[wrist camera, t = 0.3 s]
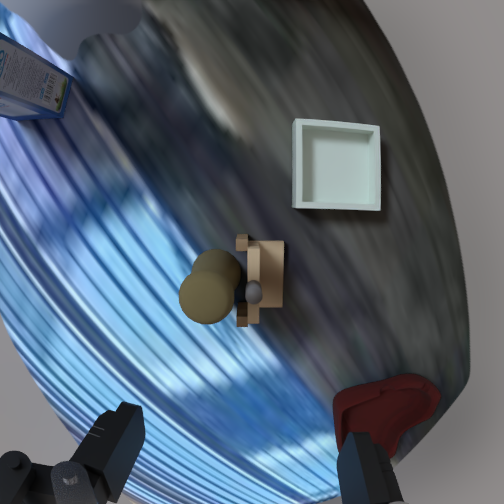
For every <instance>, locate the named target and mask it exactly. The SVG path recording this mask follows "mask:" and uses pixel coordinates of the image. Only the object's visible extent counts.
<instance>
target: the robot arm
mask: <svg viewBox="0 0 504 504" xmlns="http://www.w3.org/2000/svg"><path fill="white" fill-rule="evenodd" d="M144 440H145V425H144V418H143V411H142V407H141V406H139V405H135V404H131V403H128V402H124V401H123V402H121V404H120V405H119V407H118V408H117V410H116V412H114V411H111V410H108V411H106V412H105V413H103V414H102V415H100V416H99V417H98V418H97V420H96V421H95V423H94V424H93V427H91V429H90V430H89V432H88V434H87V435H86V436H85V438H84V439H83V441H82V442H81V444H80V445H79V447H78V449H77V450H76V452H75V453H74V455H73V456H72V458H71V459H70V460H69V461H63V462H60V463H58V464H56V465H55V466H47V465H42V464H36V463H32V462H31V461H30V459H29V458H28V456H27V455H26V454H24V453H22V452H20V451H9V452H7V453H5V454H4V455H2V456H1V458H0V504H106V503H107V501H111V502H114V503H117V501H118V499H119V497H120V494H121V492H122V490H123V488H124V486H125V483H126V481H127V479H128V477H129V475H130V472H131V470H132V468H133V466H134V464H135V461H136V459H137V457H138V455H139V453H140V450H141V448H142V446H143V444H144ZM337 473H338V479H339V485H340V491H341V497H342V503H343V504H408V503H405V502H404V500H403V498H402V495H401V492H400V489H399V486H398V483H397V479H396V476H395V473H394V472H393V467H392V464H390V459H389V456H388V453H387V451H386V450H385V449H384V448H383V447H382V446H381V445H380V443H377V444H373V442H372V439H371V436H370V433H369V432H349V433H348V435H347V437H346V440H345V442H344V444H343V446H342V449H341V451H340V453H339V455H338V459H337Z"/></svg>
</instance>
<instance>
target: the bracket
mask: <svg viewBox="0 0 504 504" xmlns="http://www.w3.org/2000/svg"><path fill="white" fill-rule="evenodd" d="M236 251H248V283H247V284H246V292H245V298H246V300H247V302H238V307H237V327H248V324H259V307H282V301H283V265H284V241H248V234H237V238H236Z"/></svg>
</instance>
